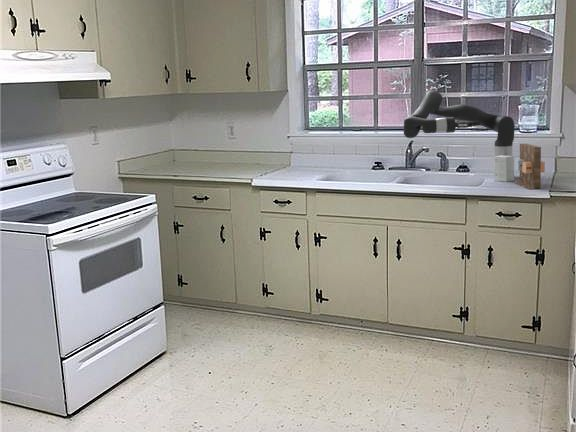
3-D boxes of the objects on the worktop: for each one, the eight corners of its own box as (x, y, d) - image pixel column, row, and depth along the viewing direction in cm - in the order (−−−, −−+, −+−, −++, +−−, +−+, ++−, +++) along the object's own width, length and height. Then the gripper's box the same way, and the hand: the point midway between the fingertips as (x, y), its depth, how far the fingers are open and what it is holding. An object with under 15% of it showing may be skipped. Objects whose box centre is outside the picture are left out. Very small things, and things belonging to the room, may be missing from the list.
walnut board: (514, 183, 336) (514, 144, 332) (525, 182, 336) (525, 143, 332) (528, 189, 316) (529, 147, 312) (540, 188, 316) (540, 147, 312)
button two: (522, 172, 322) (522, 161, 321) (540, 171, 321) (541, 160, 320) (526, 173, 316) (526, 163, 315) (544, 172, 316) (545, 162, 315)
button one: (515, 169, 332) (515, 159, 331) (533, 168, 332) (533, 158, 331) (518, 170, 327) (518, 160, 326) (536, 169, 327) (536, 159, 326)
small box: (514, 180, 345) (514, 155, 343) (506, 182, 342) (506, 157, 340) (502, 179, 352) (502, 155, 350) (493, 180, 349) (493, 156, 346)
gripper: (447, 118, 316) (483, 116, 316) (441, 117, 329) (476, 115, 329) (447, 133, 317) (483, 131, 317) (441, 132, 330) (476, 130, 330)
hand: (479, 123), depth 323 cm, fingers closed
